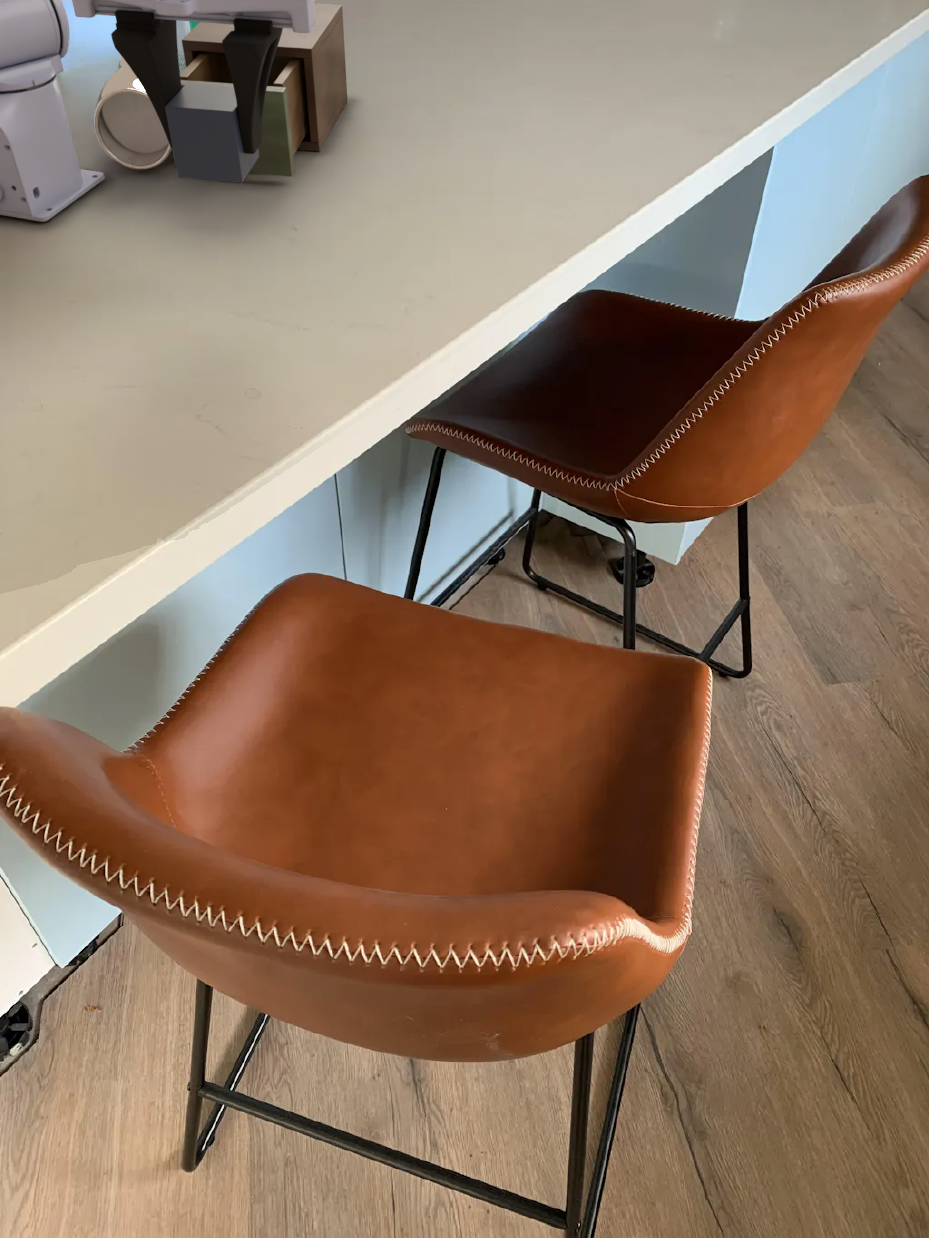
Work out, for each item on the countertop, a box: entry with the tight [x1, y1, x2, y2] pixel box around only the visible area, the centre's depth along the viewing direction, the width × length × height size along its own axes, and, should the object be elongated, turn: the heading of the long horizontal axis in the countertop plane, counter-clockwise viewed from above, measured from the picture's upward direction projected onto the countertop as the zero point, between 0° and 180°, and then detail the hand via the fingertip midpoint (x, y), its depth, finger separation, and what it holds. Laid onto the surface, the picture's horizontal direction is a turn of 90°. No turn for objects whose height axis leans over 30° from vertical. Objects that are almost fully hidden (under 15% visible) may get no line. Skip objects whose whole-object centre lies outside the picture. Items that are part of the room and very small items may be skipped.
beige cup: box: [93, 56, 182, 171], centre depth 87 cm, size 7×7×15 cm
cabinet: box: [181, 2, 348, 152], centre depth 91 cm, size 14×12×9 cm
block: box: [165, 83, 259, 183], centre depth 63 cm, size 4×4×4 cm
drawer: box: [171, 51, 310, 177], centre depth 84 cm, size 17×10×7 cm, turn 174°
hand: (215, 145), depth 64 cm, fingers closed on block, 4 cm apart
